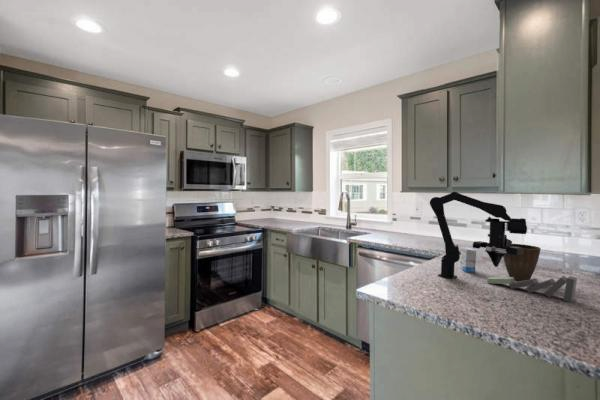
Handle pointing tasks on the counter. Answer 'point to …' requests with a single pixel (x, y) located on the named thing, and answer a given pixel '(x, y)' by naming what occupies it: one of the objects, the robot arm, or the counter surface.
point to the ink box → (468, 259)
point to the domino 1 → (524, 283)
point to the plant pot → (522, 262)
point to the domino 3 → (556, 286)
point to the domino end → (570, 289)
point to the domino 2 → (541, 285)
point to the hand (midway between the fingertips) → (496, 266)
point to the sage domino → (501, 280)
